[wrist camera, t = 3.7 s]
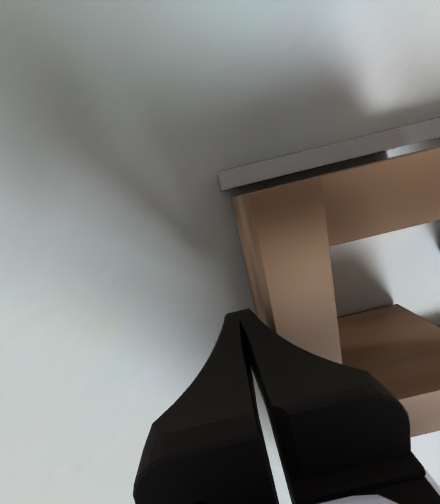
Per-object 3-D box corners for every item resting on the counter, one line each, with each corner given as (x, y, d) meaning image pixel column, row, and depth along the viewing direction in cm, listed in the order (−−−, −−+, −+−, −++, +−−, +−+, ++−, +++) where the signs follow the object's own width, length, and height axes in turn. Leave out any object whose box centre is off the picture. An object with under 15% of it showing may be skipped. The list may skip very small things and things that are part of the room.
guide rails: (518, 317, 17) (547, 328, 16) (263, 378, 17) (268, 394, 16) (545, 93, 13) (587, 80, 12) (217, 175, 13) (218, 171, 12)
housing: (398, 332, 17) (513, 412, 10) (267, 363, 17) (302, 462, 10) (392, 157, 13) (552, 119, 7) (230, 196, 14) (249, 194, 7)
